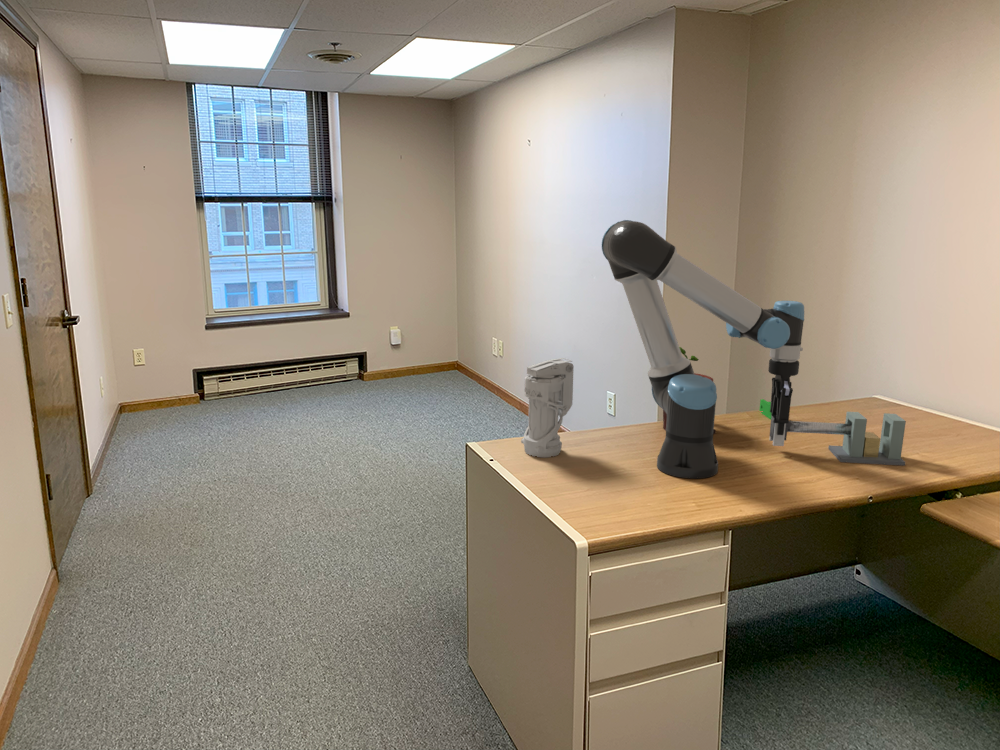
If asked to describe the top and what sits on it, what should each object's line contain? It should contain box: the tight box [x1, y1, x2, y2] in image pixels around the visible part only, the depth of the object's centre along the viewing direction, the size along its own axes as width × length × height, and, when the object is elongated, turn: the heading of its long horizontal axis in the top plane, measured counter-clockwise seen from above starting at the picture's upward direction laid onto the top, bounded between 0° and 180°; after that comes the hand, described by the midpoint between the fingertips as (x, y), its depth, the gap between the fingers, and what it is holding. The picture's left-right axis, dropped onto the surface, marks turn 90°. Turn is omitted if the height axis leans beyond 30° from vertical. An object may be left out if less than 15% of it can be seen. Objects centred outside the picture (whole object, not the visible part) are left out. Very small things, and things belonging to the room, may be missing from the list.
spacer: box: [863, 431, 881, 457], centre depth 195 cm, size 4×6×5 cm, turn 171°
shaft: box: [769, 415, 852, 441], centre depth 196 cm, size 22×4×6 cm, turn 81°
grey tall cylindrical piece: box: [520, 357, 574, 458], centre depth 195 cm, size 13×10×25 cm
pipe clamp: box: [758, 399, 771, 421], centre depth 233 cm, size 11×4×5 cm, turn 4°
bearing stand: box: [828, 411, 907, 466], centre depth 194 cm, size 16×11×12 cm
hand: (776, 442), depth 198 cm, fingers closed on shaft, 4 cm apart
